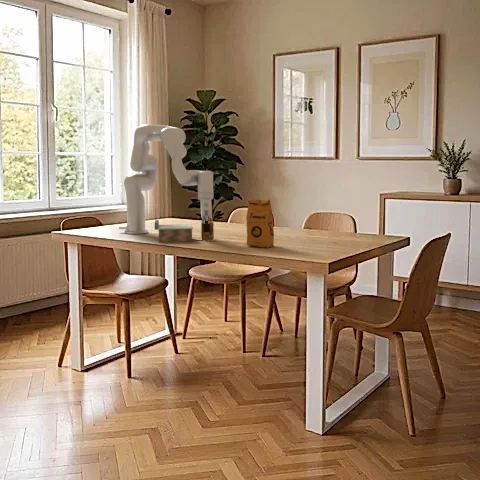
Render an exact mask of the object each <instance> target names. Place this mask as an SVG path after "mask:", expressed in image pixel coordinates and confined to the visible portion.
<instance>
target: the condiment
mask: <svg viewBox="0 0 480 480" xmlns="http://www.w3.org/2000/svg"><path fill="white" fill-rule="evenodd" d="M200 224H201V226H200V229H201V230H200V231H201V233H200V235H201V237H200V238H202V240H205V241H204V242H212V241H211V240H213V241H215V240H216V238H215V237H214V233H215V232H214V230H215V229H214V227H215V226H214V219H213V216H212V219H211V218H209V224H210V232H203V224H204V220H203V219H202V218H201V222H200Z"/></svg>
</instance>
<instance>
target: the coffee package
mask: <svg viewBox="0 0 480 480" xmlns="http://www.w3.org/2000/svg"><path fill="white" fill-rule="evenodd" d="M272 209H273V208H272V204H271V199H270V198H269V199H257V198H249V199H248V206H247V210H246V211H247V212H246V218H245V219H246V246H250V247H254V248H266V249H270V248H272V247H274V246H275V244H274V243H275V238H274V237H275V234H274V233H275V231H274V217H273V210H272ZM269 247H270V248H269Z"/></svg>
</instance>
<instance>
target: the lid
mask: <svg viewBox="0 0 480 480" xmlns="http://www.w3.org/2000/svg"><path fill="white" fill-rule="evenodd" d="M159 223H160V220H159V219H155V221H154V230H157V231H159V230H167V229H192V230H193V224H189V223H188V224H159Z"/></svg>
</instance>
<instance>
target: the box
mask: <svg viewBox="0 0 480 480" xmlns="http://www.w3.org/2000/svg"><path fill="white" fill-rule="evenodd" d="M192 242H193V229H167V230H158V243H192Z"/></svg>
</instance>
